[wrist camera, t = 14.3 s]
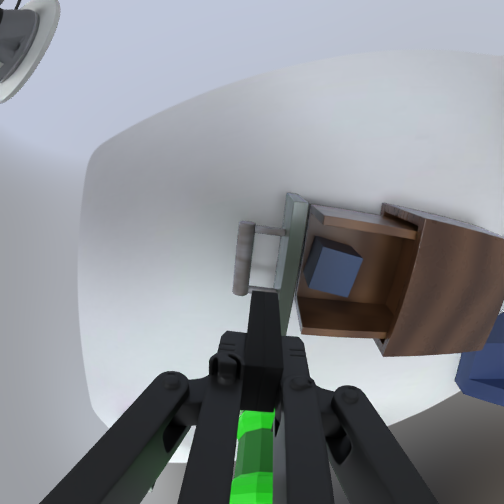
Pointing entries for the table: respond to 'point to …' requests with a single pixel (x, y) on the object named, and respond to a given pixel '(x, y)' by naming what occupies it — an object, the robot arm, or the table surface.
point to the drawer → (366, 282)
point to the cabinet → (446, 287)
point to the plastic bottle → (254, 459)
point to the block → (331, 267)
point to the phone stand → (485, 368)
